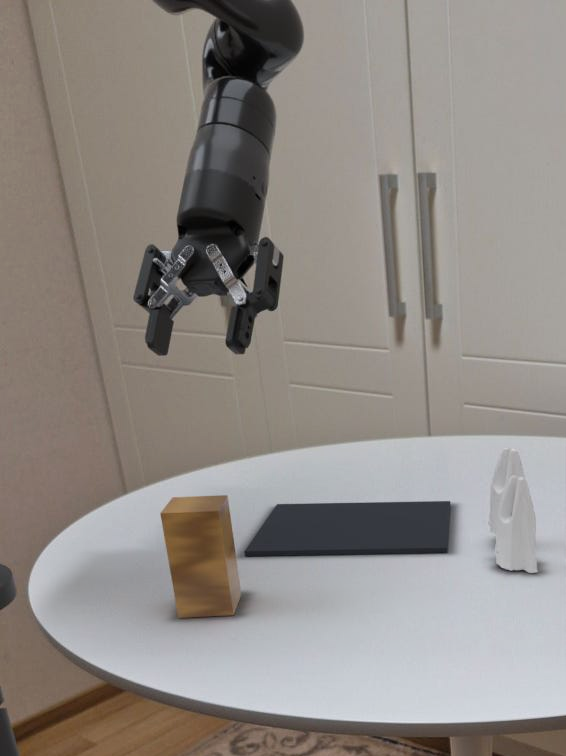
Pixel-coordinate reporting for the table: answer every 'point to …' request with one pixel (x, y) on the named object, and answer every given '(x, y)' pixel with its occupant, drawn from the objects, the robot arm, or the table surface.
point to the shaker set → (512, 515)
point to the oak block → (201, 555)
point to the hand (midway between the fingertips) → (195, 351)
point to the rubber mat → (353, 529)
